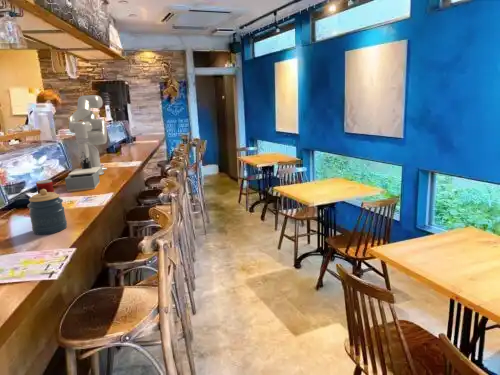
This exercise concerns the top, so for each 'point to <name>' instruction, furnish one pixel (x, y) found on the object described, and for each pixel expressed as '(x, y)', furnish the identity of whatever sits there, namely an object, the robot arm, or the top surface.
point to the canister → (47, 213)
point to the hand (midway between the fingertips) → (86, 167)
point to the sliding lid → (84, 170)
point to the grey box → (82, 181)
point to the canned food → (45, 185)
